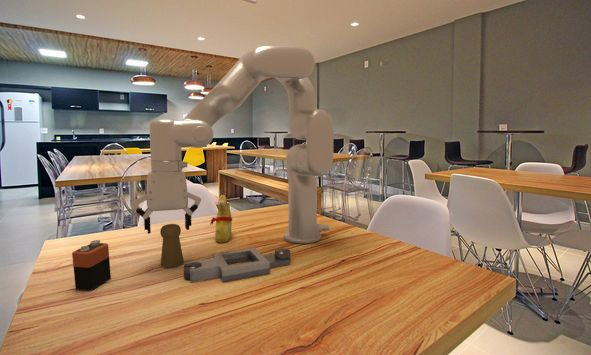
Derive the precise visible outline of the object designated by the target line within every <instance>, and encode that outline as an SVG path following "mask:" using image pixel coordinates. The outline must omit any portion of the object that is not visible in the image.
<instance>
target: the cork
mask: <svg viewBox="0 0 591 355" xmlns="http://www.w3.org/2000/svg"><path fill="white" fill-rule="evenodd" d="M159 232H160V236H161V237H162V246H161V255H160V256H161V257H160V258H161V259H160V268H163V269H175V268H179V267H182V266H184V265H185V260H184V254H183V251H182V244H181V239H180V235H181V232H182V229H181V226H180V225H179V224H178V223H168V224H164V225H162V227H161V228H160V231H159Z"/></svg>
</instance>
